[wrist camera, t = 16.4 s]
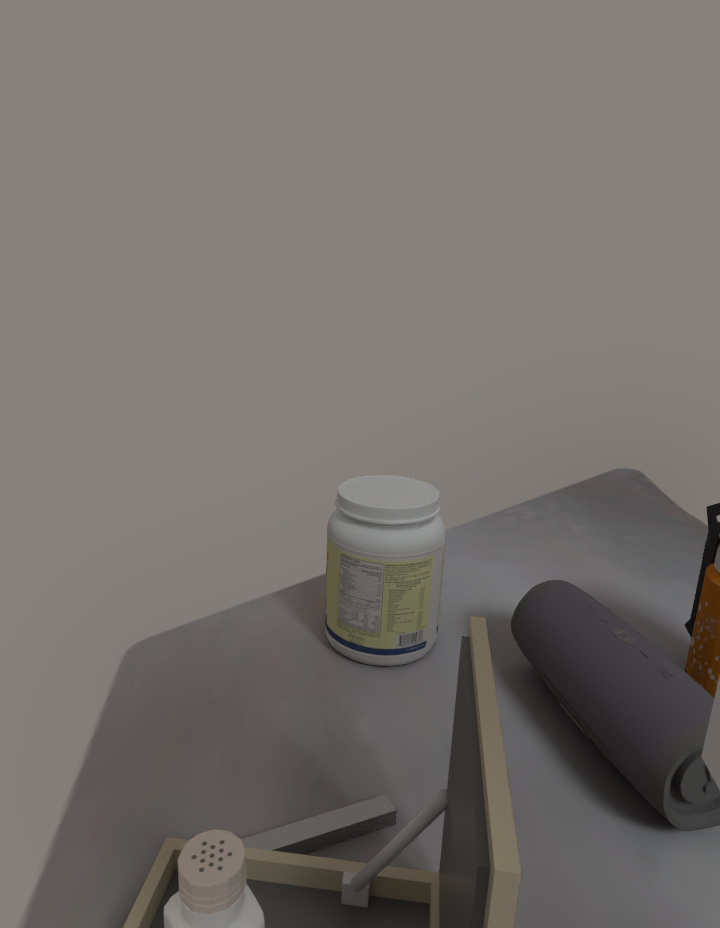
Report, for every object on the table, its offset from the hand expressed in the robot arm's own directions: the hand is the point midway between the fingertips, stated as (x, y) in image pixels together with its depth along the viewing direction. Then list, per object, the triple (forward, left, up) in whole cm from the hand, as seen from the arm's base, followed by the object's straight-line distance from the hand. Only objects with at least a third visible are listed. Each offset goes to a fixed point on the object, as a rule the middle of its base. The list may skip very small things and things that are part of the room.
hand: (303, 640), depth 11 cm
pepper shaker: (-3, -16, -31) cm, 35 cm away
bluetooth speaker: (-39, -22, -32) cm, 55 cm away
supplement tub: (-29, -44, -32) cm, 62 cm away
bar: (-12, -24, -32) cm, 42 cm away
